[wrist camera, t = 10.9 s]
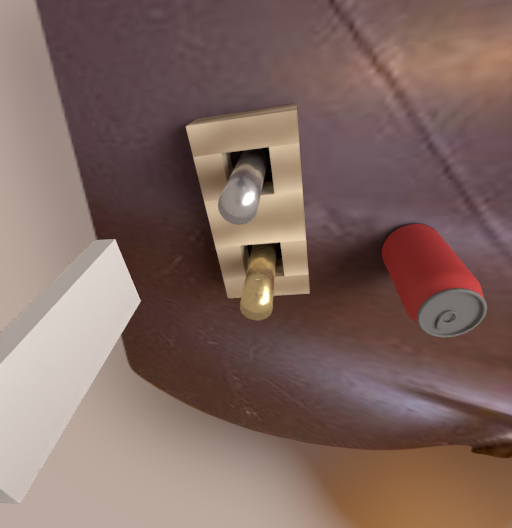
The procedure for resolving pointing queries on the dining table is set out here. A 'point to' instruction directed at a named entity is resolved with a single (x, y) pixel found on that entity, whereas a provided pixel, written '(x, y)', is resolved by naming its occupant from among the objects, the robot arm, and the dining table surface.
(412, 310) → the beer can
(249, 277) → the brass pin
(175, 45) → the dining table surface
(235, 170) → the steel pin
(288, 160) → the pin block
